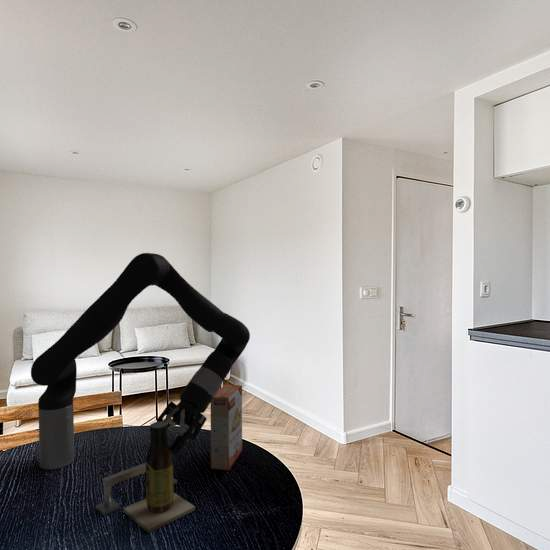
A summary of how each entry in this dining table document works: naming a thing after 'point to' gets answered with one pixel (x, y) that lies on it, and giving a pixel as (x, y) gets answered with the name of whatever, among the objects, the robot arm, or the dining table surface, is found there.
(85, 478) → the dining table surface
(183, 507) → the birch pad
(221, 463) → the cracker box
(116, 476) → the grey bar handle
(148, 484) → the sauce bottle
